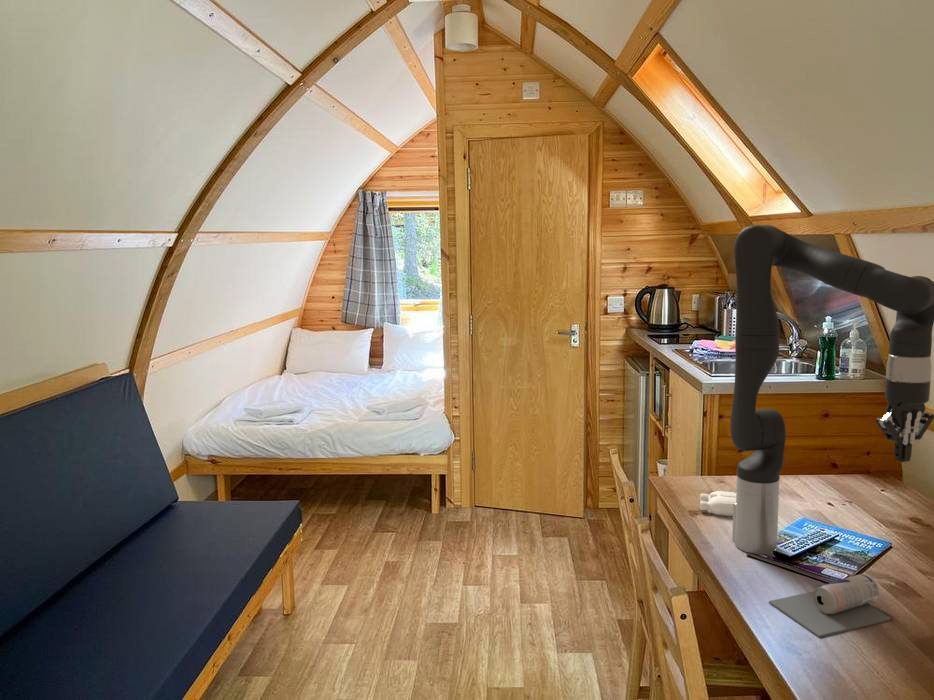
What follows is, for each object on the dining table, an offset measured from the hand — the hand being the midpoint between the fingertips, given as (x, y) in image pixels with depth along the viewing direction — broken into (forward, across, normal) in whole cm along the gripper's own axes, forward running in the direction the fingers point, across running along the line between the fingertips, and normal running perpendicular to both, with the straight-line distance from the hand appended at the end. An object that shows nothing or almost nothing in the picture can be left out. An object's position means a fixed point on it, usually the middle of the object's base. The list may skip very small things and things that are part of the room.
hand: (902, 460), depth 140 cm
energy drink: (+24, +10, +3) cm, 26 cm away
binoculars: (+28, +5, -45) cm, 53 cm away
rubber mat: (+27, +20, +4) cm, 34 cm away
